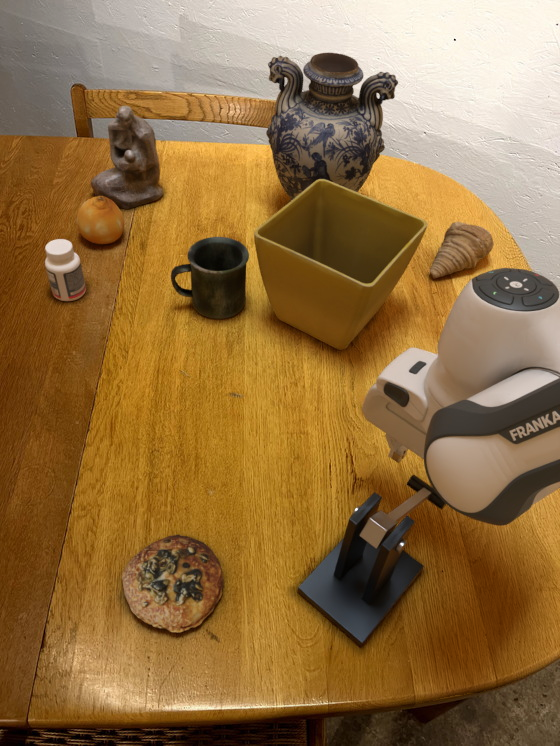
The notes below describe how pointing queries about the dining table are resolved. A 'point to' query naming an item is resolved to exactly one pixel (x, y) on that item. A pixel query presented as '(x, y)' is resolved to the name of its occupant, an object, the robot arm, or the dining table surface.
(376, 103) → the decorative vase
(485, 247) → the seashell
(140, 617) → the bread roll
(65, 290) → the pill bottle
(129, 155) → the figurine
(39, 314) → the dining table surface
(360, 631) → the bracket
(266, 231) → the flower pot
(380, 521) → the lever
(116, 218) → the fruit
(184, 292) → the mug
